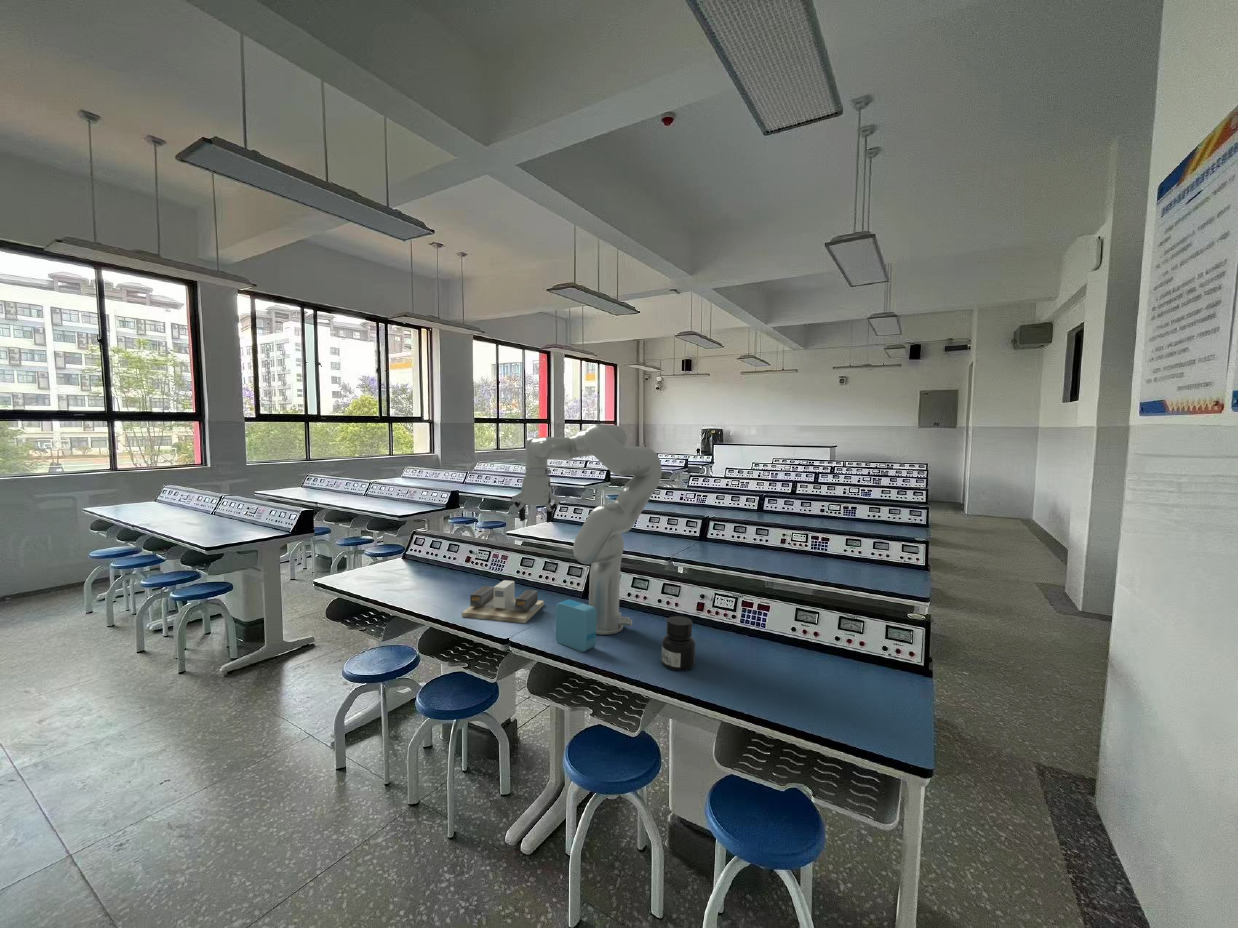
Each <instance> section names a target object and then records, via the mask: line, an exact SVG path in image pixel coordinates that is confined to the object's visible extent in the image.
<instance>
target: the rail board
mask: <svg viewBox="0 0 1238 928" xmlns="http://www.w3.org/2000/svg"><path fill="white" fill-rule="evenodd" d="M469 598H470V601H469V603H470V604H469V605H470V606H468V607H467V608H466V609H464V610H463V611H462V612H461V618H471V619H480V620H489V621H490V620H491V621H499V622H507V623H508V622H510V623H517V624H518V623H519V624H526V623H527V622H528V621H529V620H530V619H531V618H532V617H533V616H535V614H537V612H538V611H539V610H541V609H542V607H543V606H545V605H544V604H545V601H544V600H540V599H538V590H533V589H526V590H524V591H523V592H522V593H521V594H519V595H518V596H517V597H514V602H512V603H511V604H510V605H509V606H507V607H506V608H505V609H504V608H494V586H490V585H488V586H487V585H483V586H482V587H480V588H478V589H477V590H475V591H474V592H472V593H471V594H470V597H469Z"/></svg>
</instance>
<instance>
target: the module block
mask: <svg viewBox="0 0 1238 928" xmlns="http://www.w3.org/2000/svg"><path fill="white" fill-rule="evenodd" d="M515 582H516V581H514V580H502V581H500V582H498V583H497V584H496V585H495V586H493V587H494V608H504V609H505V608H506V607H507V606H509V605H510V604H511V603H512V602H514V598H515Z"/></svg>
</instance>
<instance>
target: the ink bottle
mask: <svg viewBox="0 0 1238 928" xmlns="http://www.w3.org/2000/svg"><path fill="white" fill-rule="evenodd" d="M665 630H666V635H664V636H663V638H662V640H661V664H662V665H663V666H664V667H665V668H667V669H668V668H671V669H674V670H673V671H675V670H685V671H688V670H687V669H689V668H692V667H693V666H694V667H695V665H696V640H695V639H694V638H693V637H692V634H693V621H692V619H690V618H689V617H686V616H681V615H674V616H670V617H667V619H666V629H665ZM694 667H693V668H694ZM693 668H692V669H693ZM671 669H670V670H671ZM689 670H690V669H689Z"/></svg>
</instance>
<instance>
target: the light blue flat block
mask: <svg viewBox="0 0 1238 928" xmlns="http://www.w3.org/2000/svg"><path fill="white" fill-rule="evenodd" d="M596 620H597V612H596V609H595V608H594V607H593V606H590V605H589V604H586V603H582V602H579V601H576V600H572V599H570V598H569V599H566V600H563V601H560V602H558V603H557V604H556V606H555V640H556V642H557V643H558V644H560V645H563V646H566V647H568V648H570V649H574V650H576V651H579V652H582V653H584V652H586V651H589V650H590V649H592V648H595V646H596V644H597V634H596Z"/></svg>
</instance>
